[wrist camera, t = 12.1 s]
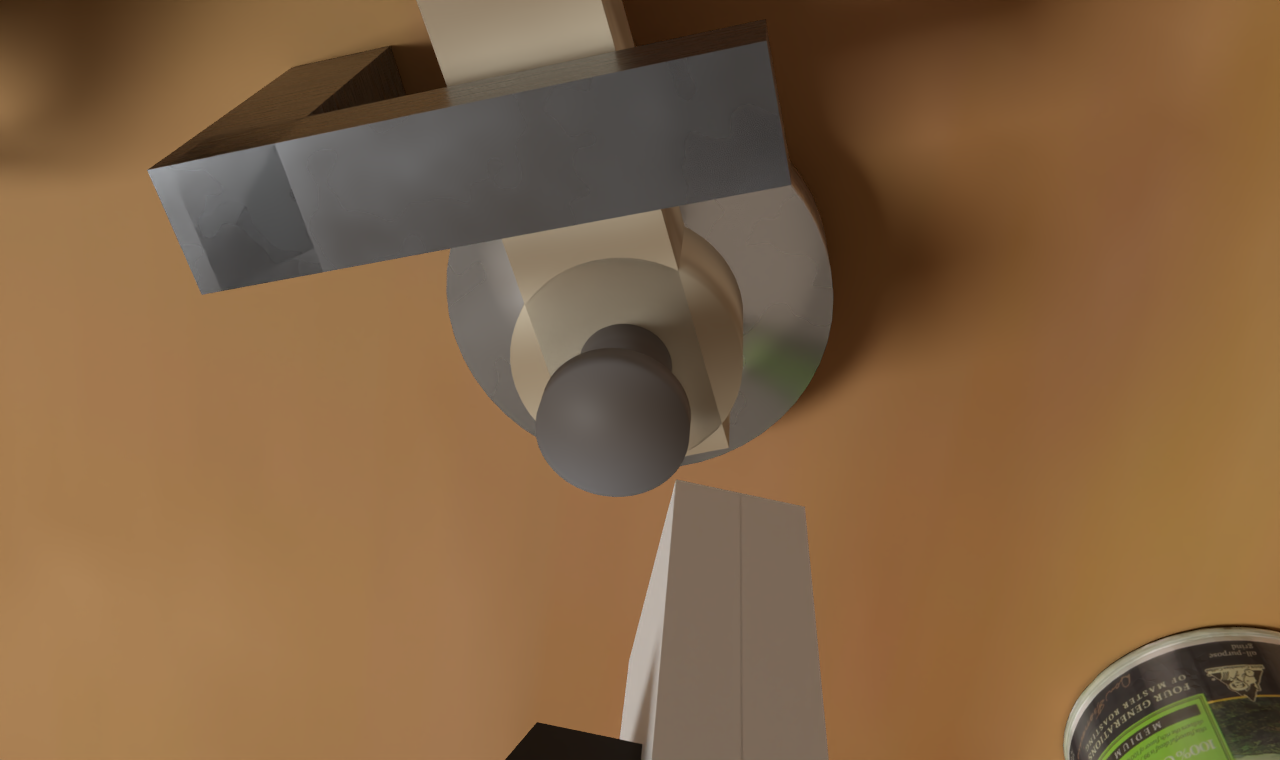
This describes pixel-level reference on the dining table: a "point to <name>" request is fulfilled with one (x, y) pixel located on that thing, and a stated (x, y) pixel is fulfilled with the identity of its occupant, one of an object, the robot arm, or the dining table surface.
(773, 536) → the robot arm
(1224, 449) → the dining table surface
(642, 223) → the link
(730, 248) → the pin plate
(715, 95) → the keeper
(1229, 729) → the coffee can
